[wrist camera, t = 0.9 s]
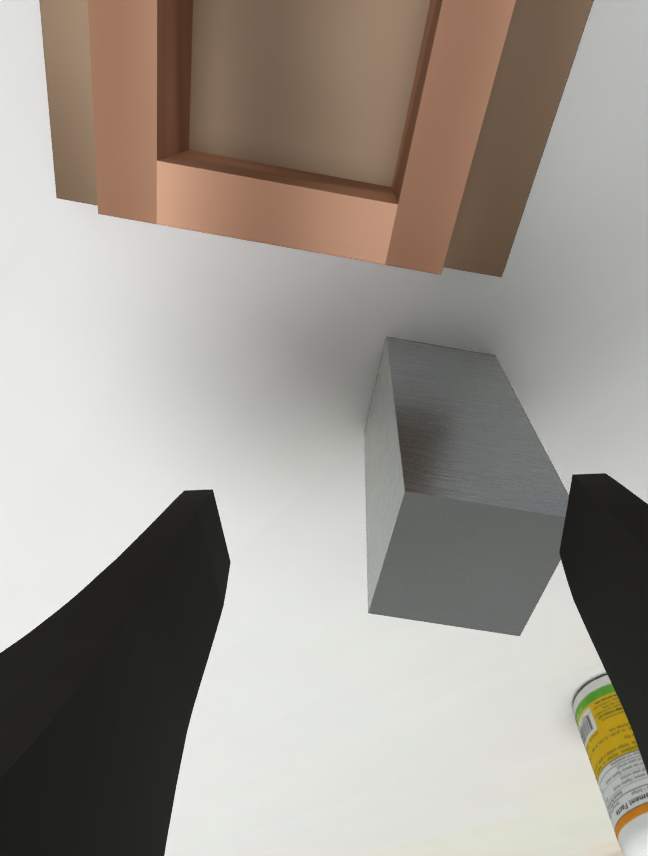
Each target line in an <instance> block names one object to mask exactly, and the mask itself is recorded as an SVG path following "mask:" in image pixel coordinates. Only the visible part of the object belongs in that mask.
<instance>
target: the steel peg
mask: <svg viewBox="0 0 648 856" xmlns="http://www.w3.org/2000/svg"><path fill="white" fill-rule="evenodd" d="M364 437H365V484H366V531H367V578H368V613H371V614H378V615H384V616H391V617H397V618H404V619H411V620H417V621H424V622H430V623H437V624H443V625H450V626H457V627H463V628H470V629H476V630H483V631H489V632H496V633H503V634H509V635H516V636H520V635H521V633H522V631H523V629H524V627H525V625H526V624H527V622H528V620H529V618H530V616H531V614H532V612H533V610H534V609H535V607H536V605H537V603H538V601H539V599H540V597H541V595H542V594H543V592H544V590H545V588H546V586H547V584H548V582H549V580H550V578H551V577H552V575H553V573H554V571H555V569H556V567H557V565H558V563H559V562H560V560H561V557H560V554H559V551H560V545H561V539H562V534H563V528H564V522H565V516H566V511H567V505H568V499H569V495H568V493H567V491H566V489H565V487H564V485H563V483H562V482H561V480H560V478H559V476H558V474H557V472H556V470H555V468H554V466H553V464H552V463H551V461H550V459H549V457H548V455H547V453H546V451H545V449H544V447H543V446H542V444H541V442H540V440H539V438H538V436H537V434H536V432H535V430H534V428H533V427H532V425H531V423H530V421H529V419H528V417H527V415H526V413H525V411H524V409H523V408H522V406H521V404H520V402H519V400H518V398H517V396H516V394H515V392H514V390H513V389H512V387H511V385H510V383H509V381H508V379H507V377H506V375H505V373H504V372H503V370H502V368H501V366H500V364H499V362H498V360H497V358H496V356H495V355H489V354H483V353H478V352H472V351H466V350H460V349H454V348H449V347H443V346H437V345H431V344H425V343H420V342H414V341H408V340H402V339H396V338H391V337H386V341H385V345H384V349H383V353H382V358H381V362H380V366H379V370H378V374H377V379H376V383H375V387H374V391H373V396H372V400H371V404H370V408H369V413H368V417H367V421H366V425H365V430H364Z"/></svg>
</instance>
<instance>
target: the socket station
mask: <svg viewBox="0 0 648 856" xmlns="http://www.w3.org/2000/svg"><path fill="white" fill-rule="evenodd" d="M39 1H40V12H41V24H42V35H43V47H44V58H45V69H46V81H47V92H48V104H49V115H50V127H51V138H52V150H53V161H54V173H55V184H56V196H57V198H59V199H65V200H70V201H76V202H82V203H87V204H93V205H98V214H102V215H108V216H114V217H119V218H125V219H131V220H136V221H142V222H147V223H153V224H159V225H164V226H170V227H176V228H181V229H187V230H192V231H198V232H204V233H209V234H215V235H221V236H226V237H232V238H238V239H243V240H249V241H254V242H260V243H266V244H271V245H277V246H283V247H288V248H294V249H300V250H305V251H311V252H316V253H322V254H328V255H333V256H339V257H345V258H350V259H356V260H361V261H367V262H373V263H378V264H384V265H390V266H395V267H401V268H407V269H412V270H418V271H423V272H429V273H435V274H440V275H441V273H442V269H443V267H446V268H452V269H458V270H463V271H469V272H475V273H480V274H486V275H491V276H497V277H502V275H503V272H504V269H505V266H506V263H507V260H508V257H509V254H510V251H511V248H512V245H513V242H514V239H515V236H516V233H517V230H518V227H519V224H520V221H521V218H522V215H523V212H524V209H525V206H526V203H527V200H528V197H529V194H530V191H531V188H532V185H533V182H534V179H535V175H536V172H537V169H538V166H539V163H540V160H541V157H542V154H543V151H544V148H545V145H546V142H547V139H548V136H549V133H550V130H551V127H552V124H553V121H554V118H555V115H556V112H557V109H558V106H559V103H560V100H561V97H562V94H563V91H564V88H565V85H566V82H567V79H568V76H569V73H570V70H571V67H572V64H573V61H574V58H575V55H576V52H577V49H578V46H579V43H580V40H581V37H582V34H583V31H584V28H585V25H586V22H587V19H588V16H589V13H590V10H591V7H592V4H593V1H594V0H39Z"/></svg>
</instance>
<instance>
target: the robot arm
mask: <svg viewBox="0 0 648 856" xmlns="http://www.w3.org/2000/svg"><path fill="white" fill-rule="evenodd" d="M559 554H560V557H561V560H562V564H563V567H564V571H565V574H566V578H567V581H568V584H569V587H570V590H571V593H572V596H573V599H574V602H575V604H576V606H577V609H578V611H579V613H580V615H581V618H582V620H583V622H584V624H585V626H586V629H587V631H588V633H589V635H590V638H591V640H592V642H593V644H594V646H595V648H596V651H597V653H598V655H599V657H600V659H601V661H602V664H603V666H604V668H605V670H606V672H607V674H608V677H609V679H610V681H611V683H612V685H613V688H614V690H615V692H616V694H617V696H618V698H619V701H620V703H621V705H622V707H623V709H624V712H625V714H626V717H627V719H628V722H629V724H630V727H631V729H632V731H633V734H634V737H635V740H636V743H637V745H638V748H639V751H640V754H641V757H642V760H643V763H644V766H645V769H646V771H647V774H648V504H647V503H645V502H644V501H643V500H641V499H640V498H639V497H637V496H636V495H635V494H633V493H632V492H631V491H629V490H628V489H627V488H625V487H624V486H623V485H621V484H620V483H618V482H617V481H616V480H614V479H613V478H611V477H610V476H608V475H607V474H605V473H604V474H579V475H573V476H572V482H571V488H570V493H569V499H568V505H567V511H566V516H565V522H564V528H563V534H562V539H561V545H560V551H559ZM229 568H230V558H229V554H228V550H227V546H226V542H225V538H224V534H223V530H222V526H221V521H220V517H219V513H218V509H217V505H216V501H215V497H214V493H213V490H190V491H184V492H183V493H181V494H180V495H179V496H178V497H177V498H176V499H175V500H174V501H173V502H172V503H171V504H170V505H169V506H168V507H167V509H166V510H165V511H164V512H163V513H162V514H161V515H160V516H159V517H158V518H157V519H156V520H155V521H154V522H153V523H152V524H151V525H150V526H149V527H148V528H147V529H146V530H145V531H144V532H143V533H142V534H141V535H140V536H139V537H138V538H137V539H136V540H135V541H134V542H133V543H132V544H131V545H130V546H129V547H128V548H127V549H126V550H125V551H124V552H123V553H122V554H121V555H120V556H119V557H118V558H117V559H116V560H115V561H114V562H112V563H111V564H110V565H109V566H108V567H107V568H106V569H105V570H104V571H103V572H102V573H100V574H99V575H98V576H97V577H96V578H95V579H94V580H93V581H92V582H91V583H89V584H88V585H87V586H86V587H85V588H84V589H83V590H82V591H81V592H80V593H78V594H77V595H76V596H75V597H74V598H72V599H71V600H70V601H69V602H68V603H66V604H65V605H64V606H63V607H62V608H60V609H59V610H58V611H57V612H55V613H54V614H53V615H52V616H50V617H49V618H48V619H46V620H45V621H44V622H43V623H41V624H40V625H39V626H37V627H36V628H35V629H34V630H32V631H31V632H30V633H28V634H27V635H26V636H24V637H23V638H21V639H20V640H19V641H17V642H16V643H14V644H13V645H11V646H10V647H8V648H7V649H6V650H4V651H3V652H1V653H0V856H164V853H165V847H166V841H167V835H168V829H169V824H170V818H171V813H172V807H173V801H174V796H175V790H176V784H177V779H178V774H179V769H180V764H181V759H182V754H183V749H184V744H185V739H186V734H187V730H188V726H189V722H190V718H191V714H192V710H193V707H194V703H195V700H196V697H197V693H198V690H199V687H200V683H201V680H202V677H203V673H204V670H205V667H206V663H207V660H208V657H209V653H210V650H211V647H212V643H213V640H214V637H215V633H216V630H217V626H218V623H219V620H220V616H221V612H222V609H223V605H224V599H225V593H226V587H227V581H228V574H229Z"/></svg>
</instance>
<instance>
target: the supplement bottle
mask: <svg viewBox="0 0 648 856" xmlns="http://www.w3.org/2000/svg"><path fill="white" fill-rule="evenodd" d="M573 711H574V716H575V719H576V723H577V726H578V729H579V732H580V734H581V738H582V740H583V743H584V746H585V749H586V751H587V754H588V757H589V760H590V763H591V766H592V768H593V771H594V774H595V777H596V780H597V783H598V785H599V788H600V791H601V794H602V797H603V800H604V802H605V805H606V808H607V811H608V814H609V817H610V820H611V822H612V825H613V828H614V831H615V834H616V837H617V840H618V843H619V845H620V847H621V850H622V852H623V855H624V856H648V774H647V771H646V769H645V766H644V763H643V760H642V757H641V754H640V751H639V748H638V745H637V743H636V740H635V737H634V734H633V731H632V729H631V727H630V724H629V722H628V719H627V717H626V714H625V712H624V709H623V707H622V705H621V703H620V701H619V698H618V696H617V694H616V692H615V690H614V688H613V685H612V683H611V681H610V679H609V677H608V675H605V676H603V677H600V678H598V679H596V680H594V681H592V682H591V683H589V684H588V685H586V686H585V687H584V688H583V689H582V690H581V691H580V692H579V693H578V695H577V696H576V698H575V701H574V705H573Z"/></svg>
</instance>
